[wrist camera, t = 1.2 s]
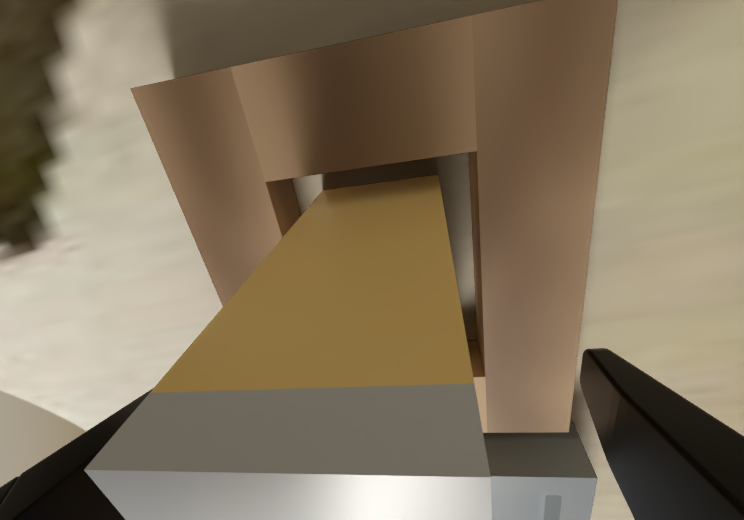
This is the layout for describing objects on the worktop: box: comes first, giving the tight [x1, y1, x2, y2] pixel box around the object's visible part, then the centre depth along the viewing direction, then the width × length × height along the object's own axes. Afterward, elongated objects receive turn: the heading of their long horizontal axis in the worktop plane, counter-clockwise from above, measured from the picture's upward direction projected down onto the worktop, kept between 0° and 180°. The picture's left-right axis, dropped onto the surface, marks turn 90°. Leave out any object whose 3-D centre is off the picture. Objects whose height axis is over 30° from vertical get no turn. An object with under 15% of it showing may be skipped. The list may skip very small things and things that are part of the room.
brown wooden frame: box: [130, 0, 618, 433], centre depth 12 cm, size 12×14×2 cm
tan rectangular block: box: [84, 175, 492, 520], centre depth 9 cm, size 4×6×10 cm, turn 10°
